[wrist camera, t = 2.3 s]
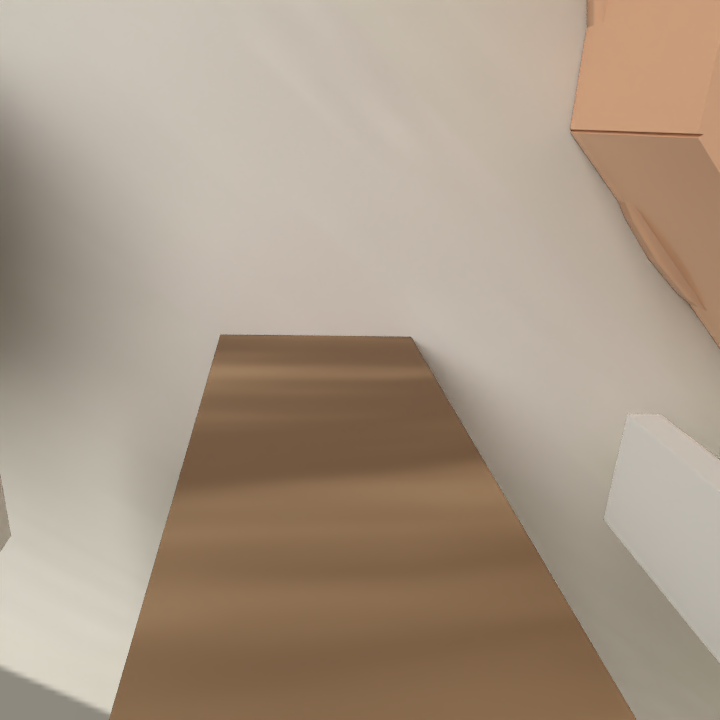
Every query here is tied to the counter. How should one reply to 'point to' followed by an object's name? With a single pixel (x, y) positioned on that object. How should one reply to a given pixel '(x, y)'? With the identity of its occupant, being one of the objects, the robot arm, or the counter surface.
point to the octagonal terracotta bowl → (659, 133)
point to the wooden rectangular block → (348, 558)
